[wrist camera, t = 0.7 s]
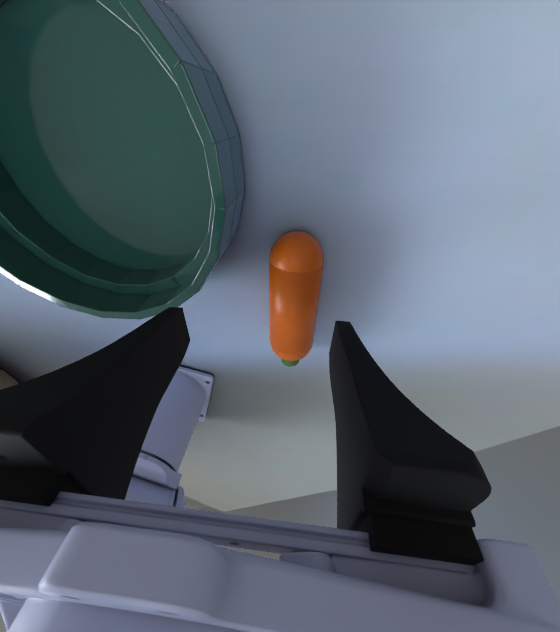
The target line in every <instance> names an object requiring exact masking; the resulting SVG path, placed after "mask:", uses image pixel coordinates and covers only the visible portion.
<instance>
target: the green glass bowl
mask: <svg viewBox="0 0 560 632" xmlns="http://www.w3.org/2000/svg"><path fill="white" fill-rule="evenodd" d="M244 189H245V184H244V175H243V165H242V156H241V146H240V137H239V133H238V131H237V128H236V125H235V123H234V120H233V117H232V115H231V112H230V109H229V106H228V104H227V101H226V98H225V96H224V93H223V90H222V88H221V85H220V82H219V80H218V77H217V75H215V71H214V70H213V69H212V67H211V66H210V64H209V63H208V61H207V60H206V58H205V57H204V55H203V54H202V52H201V51H200V49H199V48H198V46H197V45H196V43H195V42H194V40H193V39H192V37H191V36H190V35H189V33H188V32H187V30H186V29H185V27H184V26H183V24H182V23H181V21H180V20H179V18H178V17H177V15H176V14H175V13H174V12H173V10H172V9H171V8H169V7H168V6H167V5H166V4H165V3H164V2H162V1H161V0H0V273H2V274H3V275H5V276H6V277H7V278H9V279H10V280H12V281H13V282H15V283H16V284H18V285H20V286H21V287H23V288H25V289H27V290H29V291H31V292H33V293H35V294H37V295H39V296H41V297H43V298H45V299H48V300H50V301H52V302H54V303H56V304H58V305H60V306H62V307H66V308H69V309H73V310H77V311H80V312H84V313H87V314H91V315H95V316H98V317H103V318H121V319H143V318H147V317H151V316H154V315H158V314H159V313H161V312H162V311H164V310H165V309H167V308H169V307H178V306H180V305H181V304H182V303H184V302H185V301H186V300H188V299H189V298H190V297H192V296H193V295H195V294H196V293H197V292H199V291H200V289H201V288H202V286H203V285H204V283H205V282H206V280H207V279H208V277H209V276H210V274H211V272H212V271H213V269H214V268H215V266H216V265H217V263H218V262H219V260H220V259H221V257H222V255H223V253H224V252H225V250H226V248H227V247H228V245H229V243H230V241H231V240H232V238H233V236H234V235H235V233H236V231H237V228H238V223H239V217H240V212H241V207H242V201H243V196H244V191H245V190H244Z"/></svg>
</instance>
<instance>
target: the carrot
mask: <svg viewBox="0 0 560 632" xmlns="http://www.w3.org/2000/svg"><path fill="white" fill-rule="evenodd" d="M323 262H324V256H323V251H322V248H321V246H320V244H319V242H318V241H317V240H316V239H315V238H314V237H313V236H312V235H310V234H308V233H305V232H302V231H292V232H289V233H286V234H284V235H282V236H281V237H279V238H278V239H277V240H276V242H275V243H274V245H273V246H272V248H271V252H270V258H269V280H270V343H271V347H272V349H273V351H274V352H275V354H276V355H277V356H279V357H280V358H281V361H282V363H283V364H284V365H286V366H295V365H297V364H298V362H299V359H302V358H303V357H305V356H306V355H307V354H308V353H309V351H310V350H311V348H312V345H313V339H314V331H315V324H316V316H317V308H318V300H319V293H320V285H321V277H322V269H323Z"/></svg>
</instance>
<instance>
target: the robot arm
mask: <svg viewBox="0 0 560 632" xmlns="http://www.w3.org/2000/svg"><path fill="white" fill-rule="evenodd" d="M189 342H190V337H189V333H188V329H187V325H186V321H185V317H184V313H183V308H178V307H169V308H167V309H165V310H164V311H162V312H161V313H159V314H158V315H156V316H155V317H153V318H152V319H150V320H149V321H147V322H146V323H144V324H142V325H141V326H139V327H138V328H136V329H135V330H133V331H132V332H130V333H128V334H127V335H125V336H123V337H122V338H120V339H118V340H117V341H115V342H113V343H112V344H110V345H108V346H106V347H105V348H103V349H101V350H99V351H97V352H95V353H93V354H91V355H89V356H87V357H85V358H83V359H81V360H78V361H76V362H74V363H71V364H69V365H67V366H65V367H62V368H60V369H58V370H55V371H53V372H50V373H48V374H45V375H42V376H40V377H37V378H34V379H31V380H29V381H26V382H23V383H20V384H17V385H14V386H11V387H7V388H4V389H1V390H0V611H1V614H2V617H3V620H4V623H5V626H6V629H7V632H560V602H559V601H558V599H557V597H556V595H555V593H554V591H553V589H552V587H551V585H550V583H549V581H548V579H547V577H546V575H545V573H544V571H543V569H542V567H541V565H540V563H539V561H538V559H537V557H536V555H535V553H534V551H533V549H532V547H531V546H530V545H528V544H525V543H518V542H511V541H503V540H495V539H479V540H476V538H475V535H474V532H473V530H472V527H475V520H474V518H473V515H472V513H471V510H472V509H474V508H475V507H476V506H478V505H479V504H480V503H482V502H483V501H484V500H485V499H486V498H487V497H488V496H489V495H490V493H491V486H490V484H489V482H488V479H487V477H486V475H485V473H484V470H483V468H482V466H481V464H480V463H479V461H478V459H477V457H476V456H475V454H474V452H473V451H472V450H471V449H469V448H468V447H466V446H465V445H464V444H462V443H461V442H460V441H458V440H457V439H455V438H454V437H453V436H451V435H450V434H449V433H447V432H446V431H445V430H443V429H442V428H441V427H440V426H438V425H437V424H436V423H435V422H433V421H432V420H431V419H430V418H429V417H427V416H426V415H425V414H424V413H423V412H422V411H420V410H419V409H418V408H417V407H416V406H415V405H414V404H413V403H412V402H411V401H410V400H409V399H408V398H406V397H405V396H404V395H403V394H402V393H401V392H400V391H399V389H398V388H397V387H396V386H395V385H394V384H393V383H392V382H391V381H390V380H389V378H388V377H387V376H386V375H385V374H384V372H383V371H382V370H381V369H380V367H379V366H378V365H377V363H376V362H375V361H374V359H373V358H372V357H371V355H370V354H369V352H368V351H367V349H366V348H365V346H364V345H363V343H362V342H361V340H360V338H359V337H358V335H357V333H356V332H355V330H354V328H353V326H352V325H351V323H350V322H346V321H336V322H335V327H334V332H333V337H332V342H331V347H330V352H329V366H330V380H331V388H332V395H333V403H334V410H335V419H336V440H337V528H330V527H322V526H315V525H307V524H300V523H293V522H285V521H277V520H270V519H263V518H255V517H248V516H240V515H233V514H226V513H218V512H211V511H203V510H196V509H188V508H185V496H184V490H183V488H182V487H181V486H178V484H179V482H180V479H181V476H182V474H180V473H177V472H178V469H179V467H180V464H181V461H182V459H183V456H184V454H185V451H186V448H187V446H188V443H189V440H190V438H191V435H192V433H193V430H194V427H195V425H196V422H197V421H201V422H203V421H205V418H206V413H207V409H208V404H209V399H210V394H211V389H212V384H213V379H214V377H213V376H212V375H210V374H207V373H203V372H199V371H196V370H192V369H188V368H184V367H181V366H180V364H181V362H182V360H183V358H184V356H185V353H186V351H187V348H188V345H189ZM215 544H216V545H224V546H230V547H237V548H244V549H251V550H258V551H265V552H273V553H279V554H281V555H280V560H276V559H271V558H267V557H263V556H258V555H254V554H249V553H245V552H241V551H237V550H232V549H228V548H223V547H219V546H216V545H215Z"/></svg>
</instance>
